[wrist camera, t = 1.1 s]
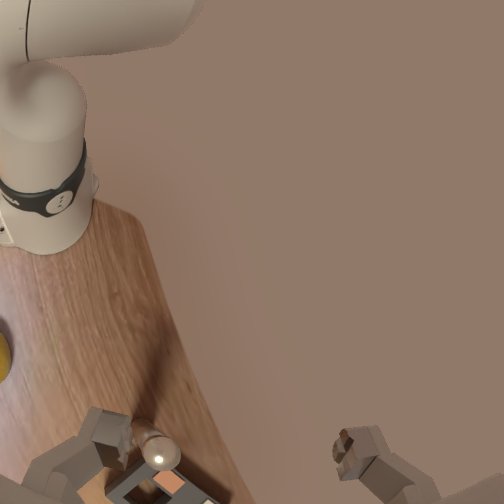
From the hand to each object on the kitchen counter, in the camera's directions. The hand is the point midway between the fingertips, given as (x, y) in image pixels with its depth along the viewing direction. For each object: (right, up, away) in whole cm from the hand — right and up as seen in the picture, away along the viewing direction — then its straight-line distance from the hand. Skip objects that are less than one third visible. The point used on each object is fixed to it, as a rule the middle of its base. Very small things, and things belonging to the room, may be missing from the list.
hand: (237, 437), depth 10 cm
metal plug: (-14, -17, +25) cm, 33 cm away
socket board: (-11, -28, +21) cm, 37 cm away
